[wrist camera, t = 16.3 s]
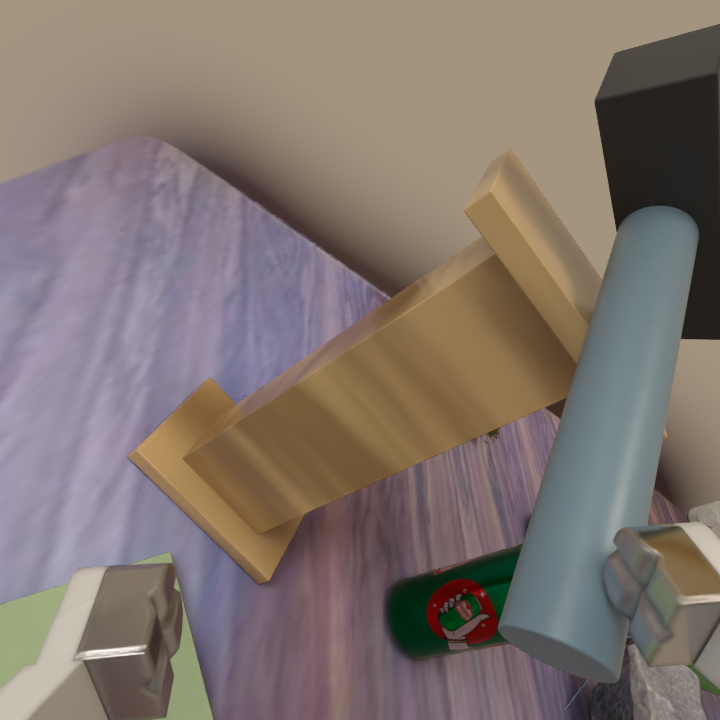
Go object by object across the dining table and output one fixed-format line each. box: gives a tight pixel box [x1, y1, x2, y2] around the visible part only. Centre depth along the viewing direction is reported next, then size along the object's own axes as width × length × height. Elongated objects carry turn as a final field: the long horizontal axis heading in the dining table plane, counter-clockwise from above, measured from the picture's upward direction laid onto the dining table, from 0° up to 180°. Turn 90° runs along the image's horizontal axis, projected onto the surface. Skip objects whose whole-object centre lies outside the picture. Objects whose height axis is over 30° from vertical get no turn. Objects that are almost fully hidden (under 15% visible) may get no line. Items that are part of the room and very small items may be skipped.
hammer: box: [498, 24, 720, 683], centre depth 15 cm, size 16×10×3 cm, turn 166°
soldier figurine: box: [480, 427, 502, 444], centre depth 54 cm, size 2×1×4 cm
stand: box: [128, 148, 667, 584], centre depth 25 cm, size 7×10×22 cm
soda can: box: [388, 544, 523, 660], centre depth 33 cm, size 5×5×12 cm
